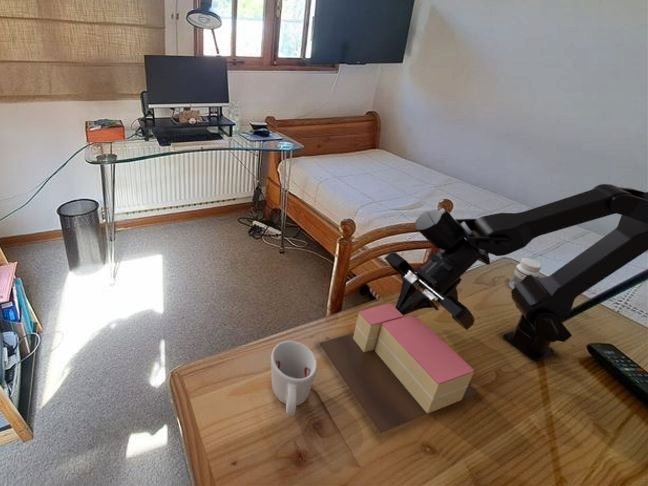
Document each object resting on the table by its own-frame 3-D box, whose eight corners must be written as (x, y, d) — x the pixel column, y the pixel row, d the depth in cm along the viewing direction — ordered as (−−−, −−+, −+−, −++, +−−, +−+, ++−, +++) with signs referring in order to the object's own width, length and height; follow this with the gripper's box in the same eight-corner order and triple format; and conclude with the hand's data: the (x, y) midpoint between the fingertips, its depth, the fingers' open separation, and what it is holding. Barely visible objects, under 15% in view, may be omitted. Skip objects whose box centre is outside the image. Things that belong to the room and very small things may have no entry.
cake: (405, 341, 71) (414, 314, 69) (461, 400, 60) (475, 370, 57) (374, 350, 69) (381, 323, 66) (427, 414, 58) (439, 383, 55)
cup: (312, 436, 55) (319, 403, 52) (263, 424, 56) (267, 391, 53) (311, 375, 65) (316, 344, 62) (269, 366, 66) (273, 336, 63)
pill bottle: (526, 285, 91) (538, 259, 88) (534, 296, 87) (547, 270, 84) (505, 280, 92) (516, 255, 89) (512, 292, 88) (524, 265, 85)
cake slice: (383, 329, 74) (390, 303, 71) (395, 343, 71) (403, 315, 68) (352, 338, 72) (358, 311, 69) (364, 352, 68) (371, 324, 66)
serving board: (400, 322, 77) (401, 319, 77) (476, 397, 62) (477, 393, 61) (317, 346, 71) (318, 342, 70) (378, 436, 55) (379, 433, 55)
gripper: (506, 311, 65) (448, 366, 66) (427, 255, 82) (380, 299, 83) (491, 286, 60) (427, 347, 61) (409, 231, 76) (359, 279, 77)
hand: (395, 315), depth 70 cm, fingers closed
